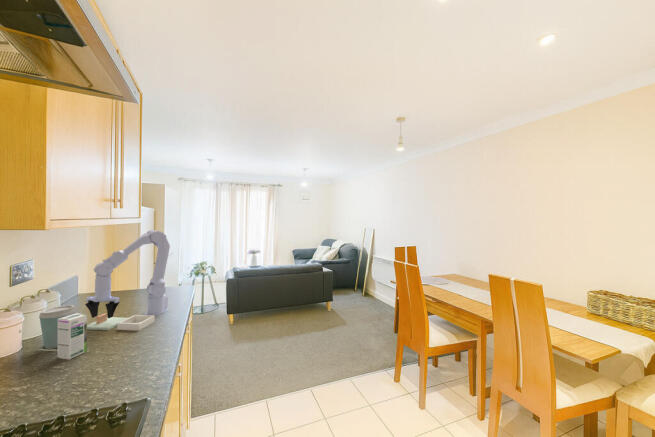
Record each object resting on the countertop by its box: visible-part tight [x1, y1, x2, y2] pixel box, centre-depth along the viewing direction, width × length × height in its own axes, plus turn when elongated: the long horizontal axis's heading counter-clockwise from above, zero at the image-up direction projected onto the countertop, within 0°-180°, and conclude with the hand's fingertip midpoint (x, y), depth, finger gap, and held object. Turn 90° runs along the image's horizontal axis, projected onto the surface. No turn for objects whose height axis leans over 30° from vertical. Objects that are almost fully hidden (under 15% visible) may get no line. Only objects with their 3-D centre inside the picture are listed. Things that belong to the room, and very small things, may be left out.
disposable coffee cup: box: [38, 304, 78, 350], centre depth 102 cm, size 11×11×15 cm
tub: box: [116, 314, 156, 332], centre depth 121 cm, size 10×10×4 cm
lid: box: [87, 312, 128, 331], centre depth 121 cm, size 11×11×5 cm
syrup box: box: [57, 312, 88, 361], centre depth 96 cm, size 6×6×14 cm
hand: (102, 317), depth 121 cm, fingers open, 7 cm apart
